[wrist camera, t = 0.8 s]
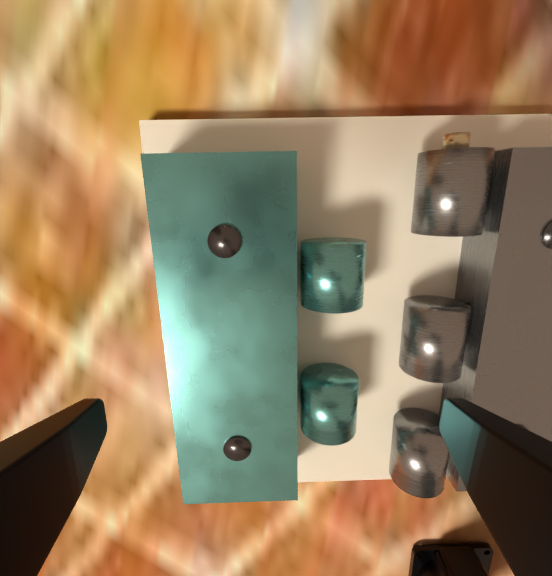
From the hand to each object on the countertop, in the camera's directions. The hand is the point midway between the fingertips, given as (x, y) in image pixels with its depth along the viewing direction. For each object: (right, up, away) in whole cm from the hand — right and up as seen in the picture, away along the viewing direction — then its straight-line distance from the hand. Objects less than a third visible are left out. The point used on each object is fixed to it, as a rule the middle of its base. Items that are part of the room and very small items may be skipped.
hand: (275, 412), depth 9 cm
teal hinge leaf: (-1, +1, +12) cm, 12 cm away
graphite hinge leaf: (+12, +1, +12) cm, 17 cm away
